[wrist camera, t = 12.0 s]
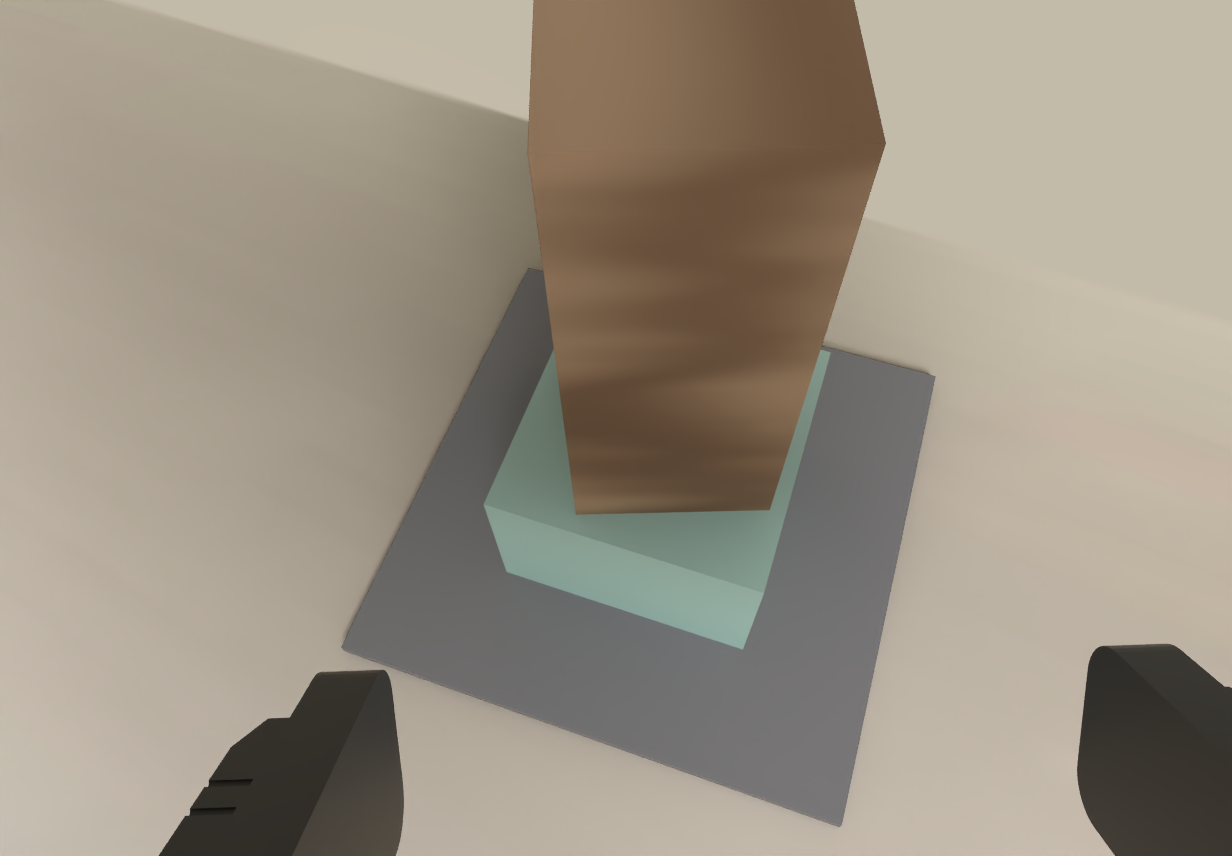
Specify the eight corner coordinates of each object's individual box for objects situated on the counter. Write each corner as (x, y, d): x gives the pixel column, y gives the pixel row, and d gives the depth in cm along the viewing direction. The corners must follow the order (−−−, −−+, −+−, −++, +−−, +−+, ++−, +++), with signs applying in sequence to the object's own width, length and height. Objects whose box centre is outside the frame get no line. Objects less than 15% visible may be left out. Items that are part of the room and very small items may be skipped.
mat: (344, 650, 22) (341, 647, 22) (529, 274, 28) (528, 267, 27) (838, 827, 20) (841, 825, 20) (932, 382, 25) (935, 376, 25)
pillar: (575, 514, 19) (527, 152, 10) (576, 353, 21) (536, -68, 12) (769, 510, 19) (885, 142, 10) (752, 348, 21) (837, -75, 12)
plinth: (506, 571, 23) (483, 504, 19) (589, 376, 25) (581, 286, 22) (742, 649, 22) (764, 593, 18) (802, 437, 24) (830, 352, 21)
